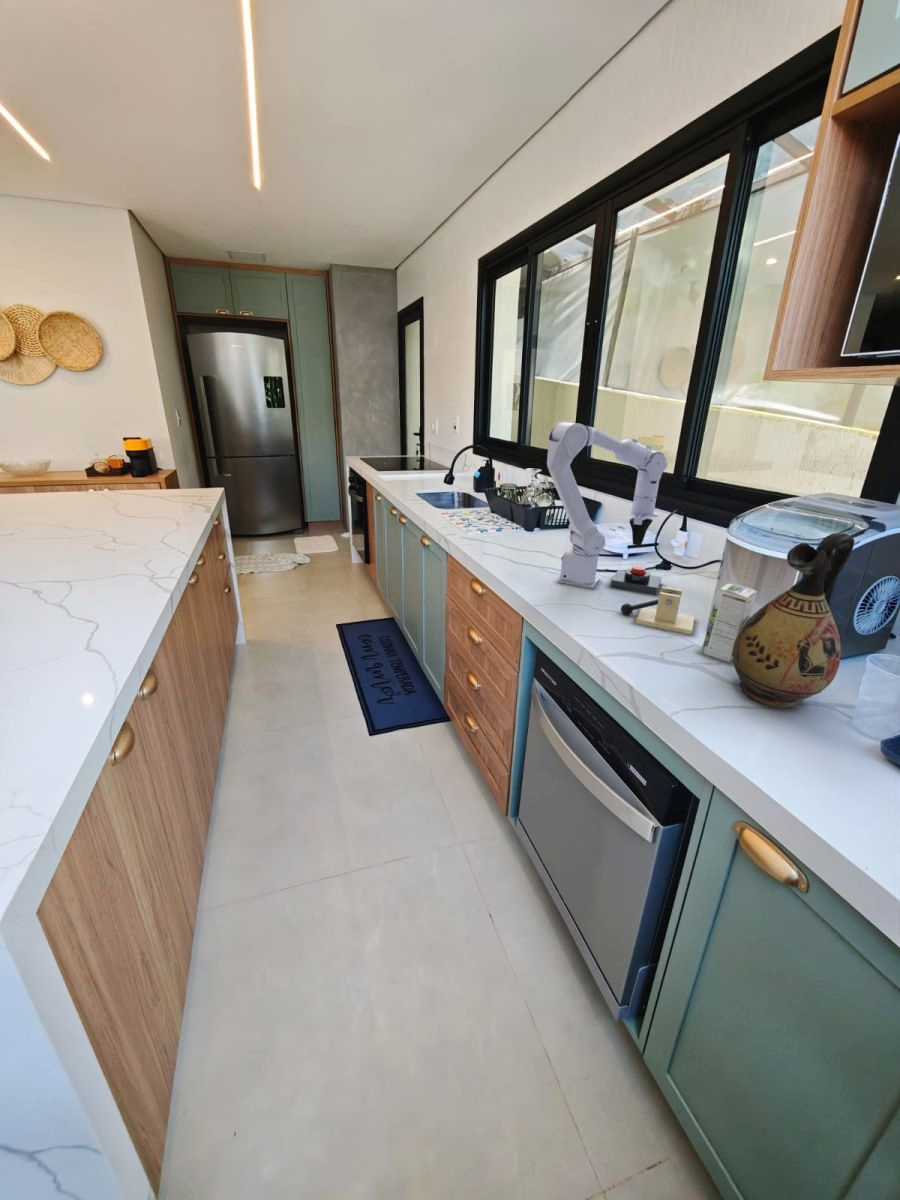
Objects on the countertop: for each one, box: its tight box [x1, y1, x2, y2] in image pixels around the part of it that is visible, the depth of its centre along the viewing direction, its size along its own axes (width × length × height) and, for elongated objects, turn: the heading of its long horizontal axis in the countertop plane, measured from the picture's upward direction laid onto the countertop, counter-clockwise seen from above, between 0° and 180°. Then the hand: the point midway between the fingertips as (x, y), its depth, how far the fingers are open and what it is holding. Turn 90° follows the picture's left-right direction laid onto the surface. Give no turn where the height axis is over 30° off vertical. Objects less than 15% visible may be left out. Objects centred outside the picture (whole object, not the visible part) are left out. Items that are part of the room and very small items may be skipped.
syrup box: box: [700, 583, 758, 663], centre depth 102 cm, size 6×6×14 cm
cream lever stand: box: [635, 586, 696, 636], centre depth 117 cm, size 12×9×8 cm
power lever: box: [620, 591, 676, 616], centre depth 119 cm, size 13×3×3 cm, turn 62°
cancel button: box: [631, 565, 647, 575], centre depth 139 cm, size 4×4×2 cm
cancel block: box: [610, 568, 663, 596], centre depth 140 cm, size 12×10×4 cm
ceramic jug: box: [732, 532, 855, 709], centre depth 85 cm, size 17×15×30 cm
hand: (637, 544), depth 142 cm, fingers closed
